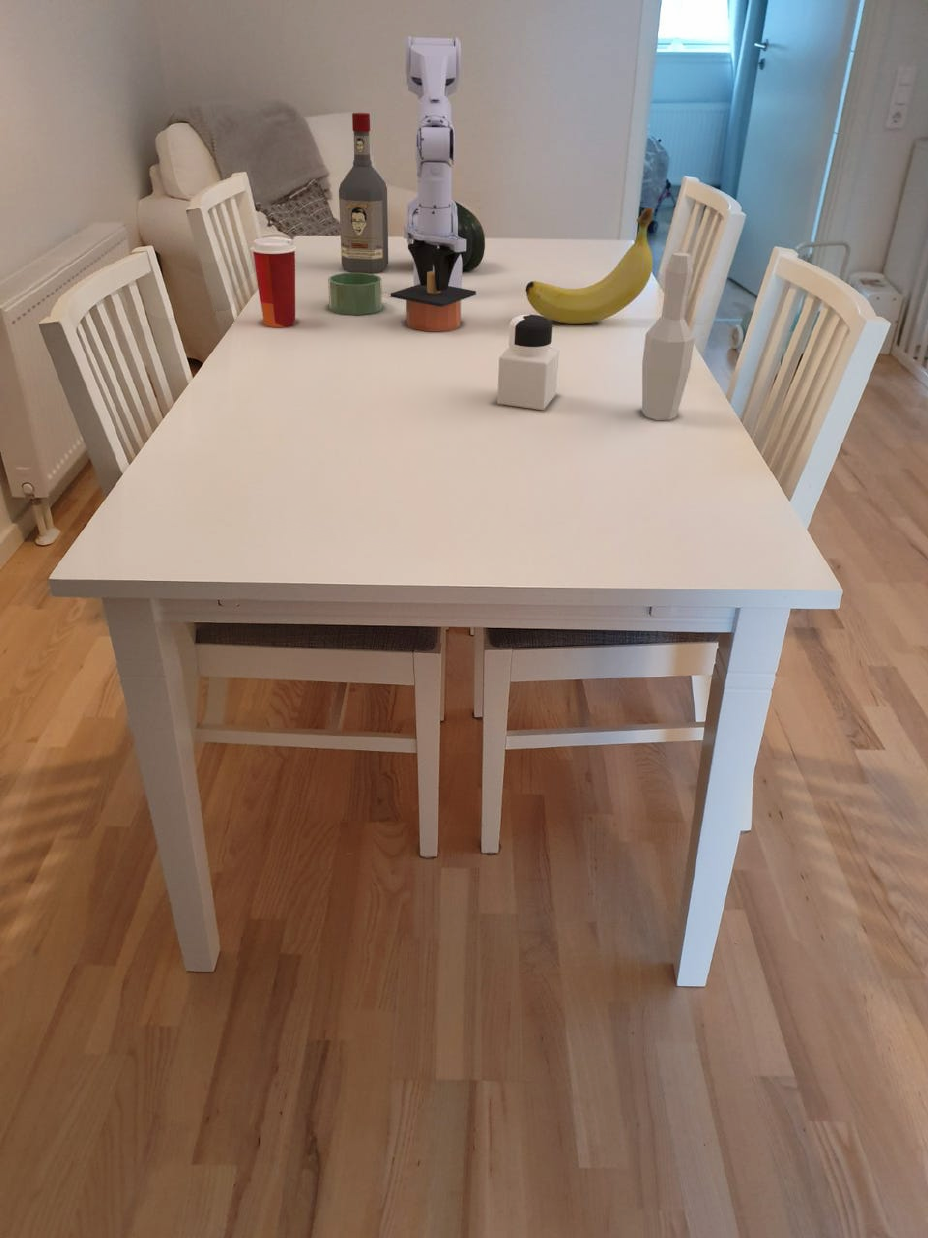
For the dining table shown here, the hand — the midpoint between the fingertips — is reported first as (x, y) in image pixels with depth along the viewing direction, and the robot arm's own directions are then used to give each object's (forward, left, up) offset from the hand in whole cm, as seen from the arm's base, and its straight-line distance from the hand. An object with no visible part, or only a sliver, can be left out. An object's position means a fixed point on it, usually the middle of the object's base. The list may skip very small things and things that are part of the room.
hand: (433, 287), depth 171 cm
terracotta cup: (0, 0, -6) cm, 6 cm away
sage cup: (+5, -17, -6) cm, 19 cm away
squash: (-31, -31, -7) cm, 44 cm away
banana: (-23, +16, -7) cm, 29 cm away
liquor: (-16, -42, -7) cm, 45 cm away
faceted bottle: (+4, +55, -7) cm, 56 cm away
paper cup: (+22, -17, -7) cm, 29 cm away
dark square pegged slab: (0, 0, -1) cm, 1 cm away
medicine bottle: (+15, +39, -7) cm, 42 cm away
